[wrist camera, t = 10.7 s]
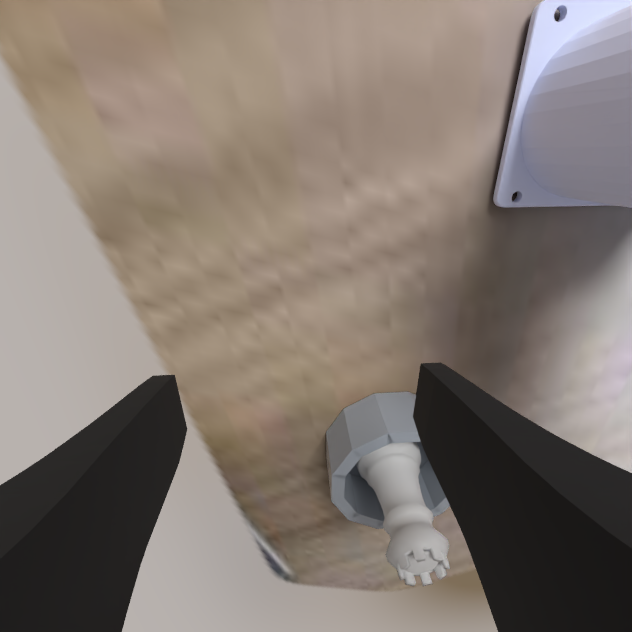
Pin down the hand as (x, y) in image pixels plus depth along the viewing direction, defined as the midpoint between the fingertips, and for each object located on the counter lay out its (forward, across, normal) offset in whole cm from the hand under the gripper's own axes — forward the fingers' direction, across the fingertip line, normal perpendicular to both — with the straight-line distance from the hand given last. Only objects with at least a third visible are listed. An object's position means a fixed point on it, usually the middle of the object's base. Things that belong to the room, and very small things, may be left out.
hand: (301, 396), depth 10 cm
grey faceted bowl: (+9, -6, +12) cm, 16 cm away
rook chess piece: (+9, -6, +12) cm, 16 cm away
